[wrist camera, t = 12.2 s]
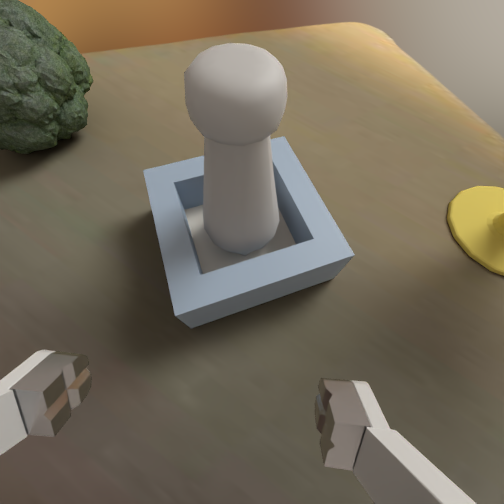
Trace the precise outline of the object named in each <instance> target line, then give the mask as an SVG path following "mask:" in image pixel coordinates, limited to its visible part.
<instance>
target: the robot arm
mask: <svg viewBox="0 0 504 504" xmlns="http://www.w3.org/2000/svg"><path fill="white" fill-rule="evenodd" d="M88 365H89V361H88V357H87V356H86V355H83V354H76V353H68V352H60V351H49V350H40V351H37V352H36V353H34V354H33V355H32V356H31V357H29V358H28V359H27V360H26V361H24V362H23V363H22V364H20V365H19V366H18V367H17V368H15V369H14V370H13V371H12V372H10V373H9V374H8V375H7V376H5V377H4V378H3V379H1V380H0V455H1V454H3V453H4V452H6V451H7V450H8V449H10V448H11V447H13V446H14V445H16V444H17V443H18V442H20V441H21V440H23V439H24V438H26V437H27V435H39V436H52V437H55V436H56V434H57V433H58V432H59V431H60V429H61V428H62V427H63V426H64V424H65V423H66V422H67V421H68V419H69V418H70V417H71V409H73V408H75V407H76V406H78V405H79V404H81V403H82V402H83V400H84V399H85V398H86V396H87V394H88V392H89V390H90V388H91V383H92V377H91V373H90V372H89V371H88V370H87V369H86V367H87V366H88ZM318 388H319V392H320V394H319V395H317V396H316V400H315V421H316V427H317V429H318V431H319V432H320V433H321V439H320V447H321V452H322V457H323V463H324V467H331V468H338V469H345V470H352V471H353V473H354V475H355V476H356V478H357V479H358V480H359V482H360V483H361V485H362V486H363V488H364V489H365V491H366V492H367V493H368V495H369V496H370V498H371V499H372V501H373V502H374V503H375V504H476V503H475V502H474V501H473V500H472V499H471V498H470V497H468V496H467V495H466V494H465V493H464V492H463V491H462V490H461V489H460V488H459V487H458V486H456V485H455V484H454V483H453V482H452V481H451V480H450V479H449V478H448V477H447V476H445V475H444V474H443V473H442V472H441V471H440V470H439V469H438V468H437V467H436V466H434V465H433V464H432V463H431V462H430V461H429V460H428V459H427V458H426V457H425V456H423V455H422V454H421V453H420V452H419V451H418V450H417V449H416V448H415V447H414V446H412V445H411V444H410V443H409V442H408V441H407V440H406V439H405V438H404V437H403V436H401V435H400V434H399V433H398V432H397V431H396V430H391V429H390V427H389V425H388V423H387V421H386V419H385V417H384V415H383V413H382V411H381V409H380V407H379V404H378V402H377V400H376V398H375V396H374V394H373V392H372V390H371V388H370V386H369V384H368V383H367V382H364V381H352V380H351V381H350V380H340V379H329V378H321V379H320V381H319V385H318Z"/></svg>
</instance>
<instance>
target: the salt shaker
mask: <svg viewBox="0 0 504 504" xmlns="http://www.w3.org/2000/svg"><path fill="white" fill-rule="evenodd" d="M184 80H185V99H186V106H187V109H188V113H189V116H190V119H191V120H192V122H193V123H194V125H195V126H196V127H197V129H198V130H199V131H200V132H201V134H202V135H203V136H204V137H205V138H204V184H203V222H204V229H205V231H206V232H207V234H208V235H209V237H210V238H211V240H212V242H213V243H214V244H215V245H217V246H218V247H220V248H222V249H224V250H226V251H228V252H232V253H238V254H241V255H245V256H246V255H247V254H249V253H251V252H253V251H256V250H259V249H262V248H263V247H264V246H265V245H266V244H267V243H268V242H269V241H270V240H272V239H273V238H274V236H275V233H276V230H277V227H278V224H279V221H280V220H279V212H278V204H277V196H276V188H275V180H274V172H273V161H272V150H271V139H270V135H271V134H272V133H273V132H275V131H276V130H277V128H278V126H279V124H280V121H281V119H282V116H283V114H284V111H285V106H286V100H287V79H286V76H285V72H284V69H283V66H282V65H281V64H280V62H279V61H278V60H277V59H276V58H275V57H274V56H273V55H271V54H270V53H269V52H268V51H266V50H265V49H262V48H259V47H256V46H253V45H250V44H237V43H229V44H223V45H217V46H213V47H211V48H209V49H207V50H205V51H203V52H201V53H199V54H198V55H197V57H196V58H195V59H194V60H193V62H192V63H191V64H190V66H189V67H188V68H187V70H186V71H185V72H184Z"/></svg>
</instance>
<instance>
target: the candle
mask: <svg viewBox="0 0 504 504" xmlns="http://www.w3.org/2000/svg"><path fill="white" fill-rule="evenodd" d="M447 221H448V224H449V226H450V229H451V232H452V235H453V237H454V238H455V240H456V241H457V242H458V243H459V245H460V246H461V247H462V248H463V249H464V251H465V252H466V253H467V254H468V255H469V256H470V257H471V258H473V259H474V260H476V261H477V262H478V263H480V264H481V265H483V266H484V267H486V268H487V269H488V270H490V271H492V272H495V273H497V274H500V275H503V276H504V189H502V188H499V187H489V186H476V187H473V188H470V189H467V190H464V191H461V192H459V193H458V194H457V195H456V196H455V198H454V199H453V200H452V201H451V202H450V203H449V207H448V214H447Z"/></svg>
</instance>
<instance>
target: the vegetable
mask: <svg viewBox="0 0 504 504" xmlns="http://www.w3.org/2000/svg"><path fill="white" fill-rule="evenodd" d="M92 83H93V79H92V76H91V74H90V68H89V67H88V65H87V62H86V60H85V58H84V57H83V56H82V55H81V54H80V53H79V52H78V50H77V48H76V47H75V46H74V44H73V43H72V42H70V41H68V40H67V38H66V37H65V36H64V35H63V34H62V33H61V32H59V31H58V30H57V29H56V27H54V26H53V25H51V24H50V23H49V22H48V21H47V20H46V19H45V18H44V17H43V16H42V15H41V14H40V13H38V12H37V11H36V10H34V9H33V8H32V7H30V6H27V5H26V4H24V3H22V2H20V1H18V0H0V149H8V150H10V151H14V150H15V151H16V152H17V153H22V154H29V153H31V152H33V151H38V150H43V149H47V148H51V147H54V146H56V145H57V140H60V139H63V138H64V139H69V138H71V134H72V133H73V132H77V131H79V130H80V129H82V128H84V127H85V126H86V125H87V117H88V113H87V108H88V103H87V101H86V100H85V98H84V95H85V93H86V92H88V91H89V90H90V86H91V84H92Z"/></svg>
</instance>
